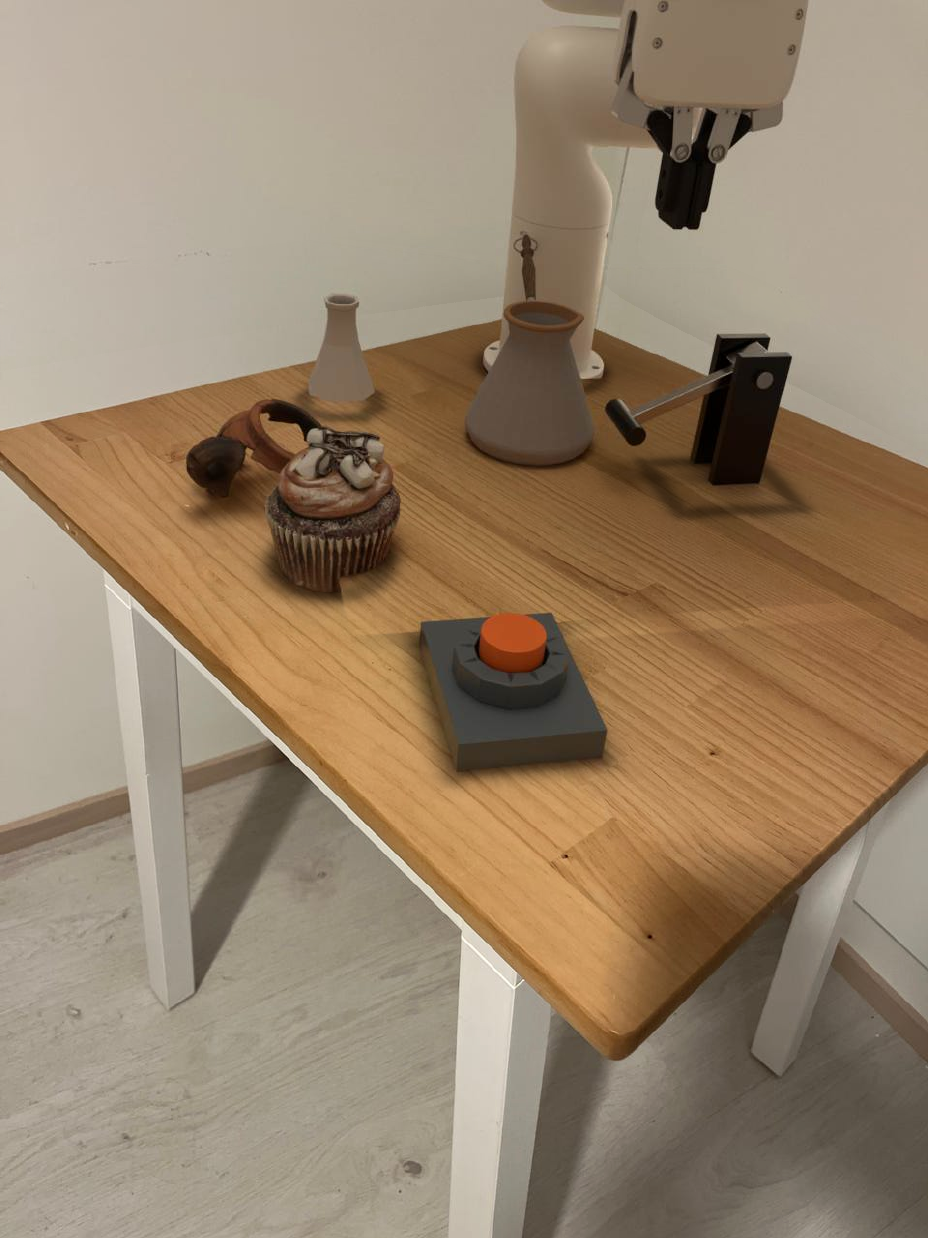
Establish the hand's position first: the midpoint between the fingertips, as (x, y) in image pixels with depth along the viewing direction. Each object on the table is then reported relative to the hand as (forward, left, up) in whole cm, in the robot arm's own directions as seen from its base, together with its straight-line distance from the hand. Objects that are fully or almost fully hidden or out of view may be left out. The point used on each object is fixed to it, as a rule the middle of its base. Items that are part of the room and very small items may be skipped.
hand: (677, 222), depth 69 cm
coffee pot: (-22, -2, -25) cm, 34 cm away
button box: (+16, -13, -25) cm, 32 cm away
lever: (-10, +9, -17) cm, 22 cm away
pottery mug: (-12, -27, -25) cm, 39 cm away
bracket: (-10, +13, -25) cm, 30 cm away
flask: (-29, -18, -25) cm, 42 cm away
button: (+16, -13, -21) cm, 30 cm away
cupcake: (-1, -22, -25) cm, 34 cm away
